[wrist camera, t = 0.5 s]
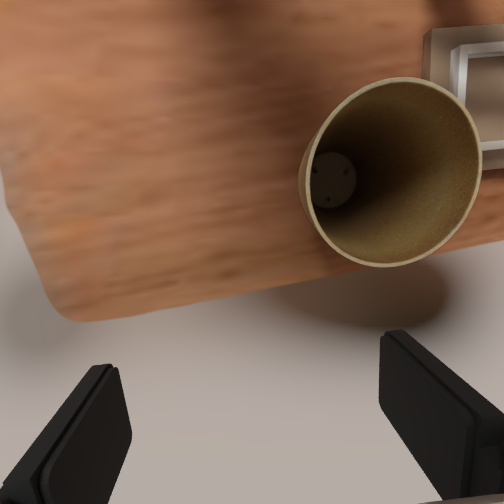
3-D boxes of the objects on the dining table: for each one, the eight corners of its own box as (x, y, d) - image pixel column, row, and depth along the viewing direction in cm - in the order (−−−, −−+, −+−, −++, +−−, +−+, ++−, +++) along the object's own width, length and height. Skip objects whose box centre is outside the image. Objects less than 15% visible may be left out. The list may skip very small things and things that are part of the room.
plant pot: (268, 231, 39) (293, 259, 24) (283, 115, 36) (323, 61, 21) (370, 241, 41) (457, 275, 25) (393, 131, 38) (508, 92, 22)
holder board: (423, 35, 35) (441, 21, 32) (552, 25, 36) (581, 10, 33) (418, 176, 39) (434, 175, 36) (535, 164, 40) (559, 162, 37)
